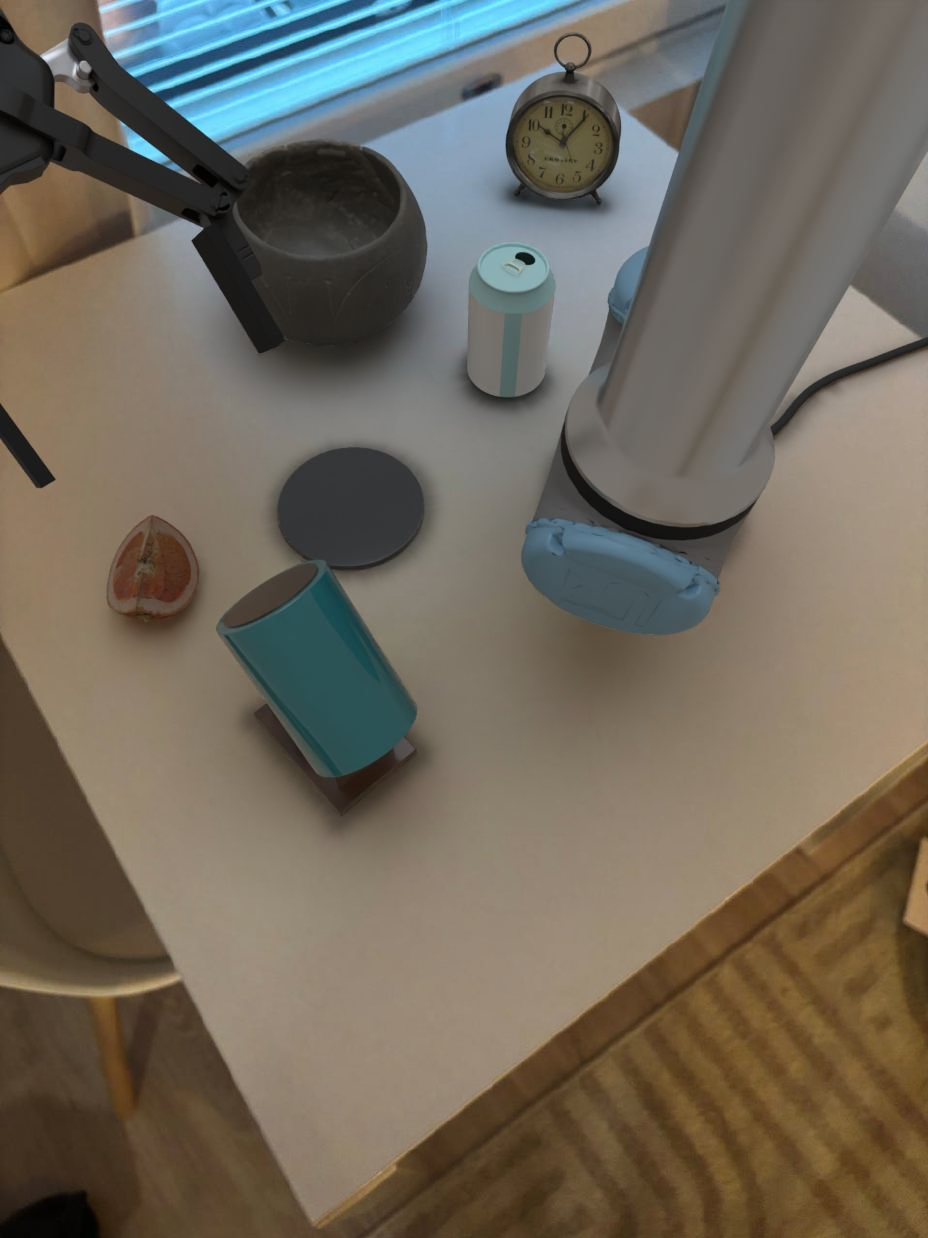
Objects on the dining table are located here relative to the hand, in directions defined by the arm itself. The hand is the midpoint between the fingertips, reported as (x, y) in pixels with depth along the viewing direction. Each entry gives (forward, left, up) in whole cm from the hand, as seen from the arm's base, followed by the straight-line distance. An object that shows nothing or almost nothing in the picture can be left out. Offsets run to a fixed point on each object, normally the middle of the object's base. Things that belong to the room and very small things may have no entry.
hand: (165, 413), depth 48 cm
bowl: (-11, -35, -27) cm, 45 cm away
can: (-25, -24, -27) cm, 44 cm away
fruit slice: (+7, -7, -27) cm, 29 cm away
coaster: (-9, -12, -27) cm, 30 cm away
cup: (-5, +8, -15) cm, 18 cm away
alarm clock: (-36, -47, -27) cm, 65 cm away
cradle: (-5, +8, -27) cm, 28 cm away
